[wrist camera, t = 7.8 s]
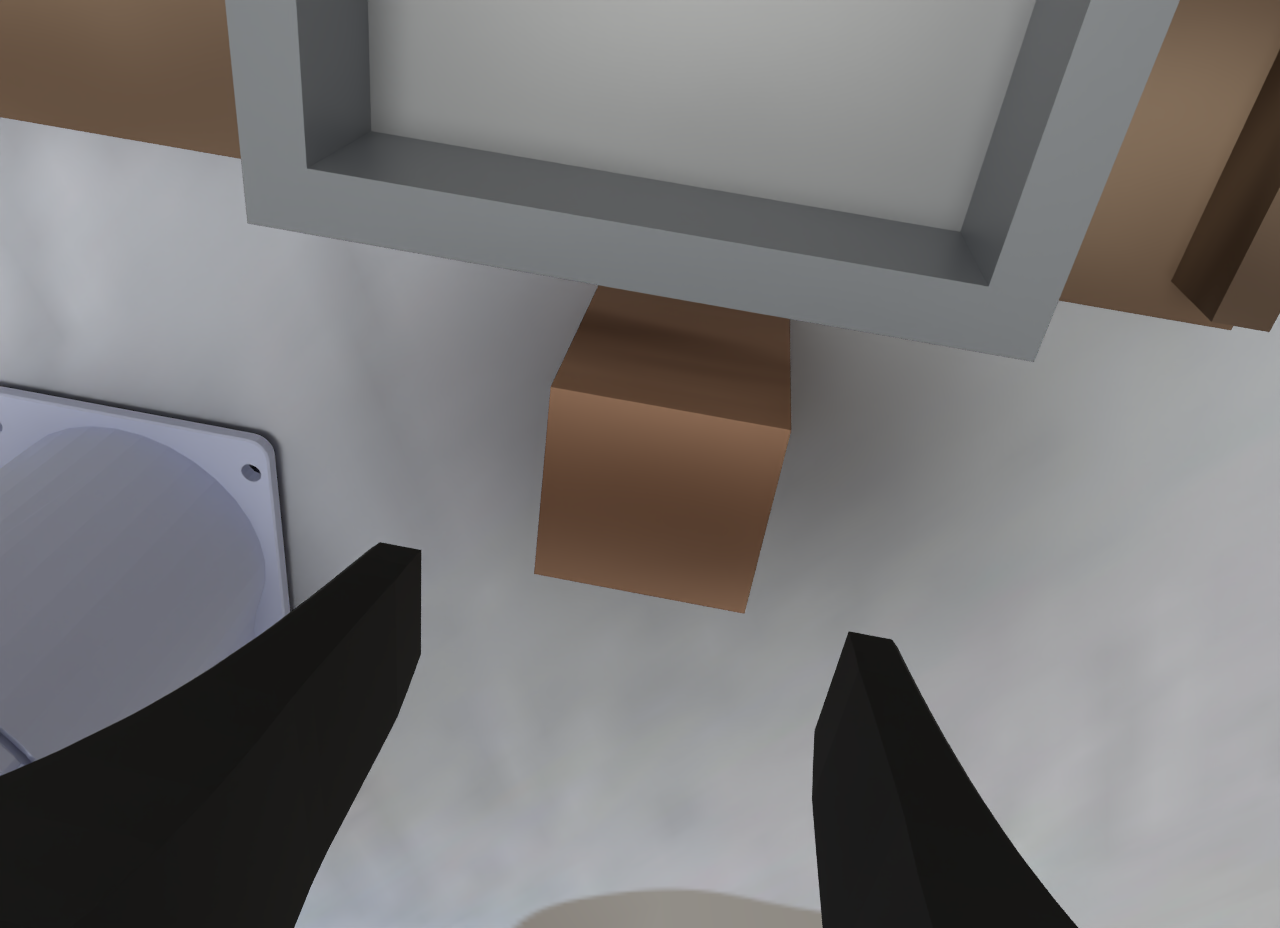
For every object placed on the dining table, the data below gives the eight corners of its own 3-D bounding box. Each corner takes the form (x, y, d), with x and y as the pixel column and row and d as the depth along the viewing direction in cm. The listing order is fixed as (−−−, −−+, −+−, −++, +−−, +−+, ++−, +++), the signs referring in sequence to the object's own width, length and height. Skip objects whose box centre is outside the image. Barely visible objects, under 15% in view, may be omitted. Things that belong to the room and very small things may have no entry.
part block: (753, 449, 22) (744, 613, 17) (590, 419, 22) (534, 573, 17) (789, 294, 20) (791, 429, 15) (609, 263, 20) (550, 386, 15)
